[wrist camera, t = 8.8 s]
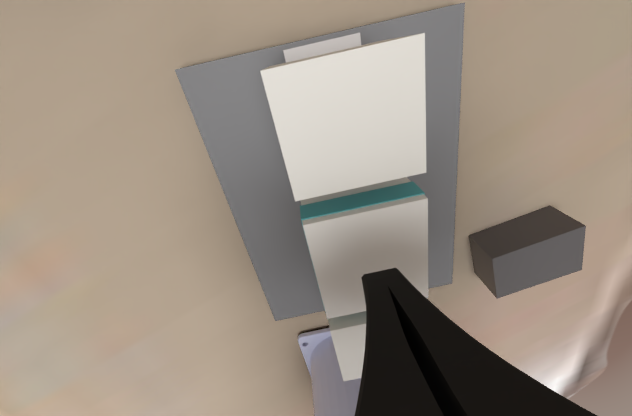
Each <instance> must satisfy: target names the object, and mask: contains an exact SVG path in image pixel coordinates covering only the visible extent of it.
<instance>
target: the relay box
mask: <svg viewBox="0 0 632 416" xmlns="http://www.w3.org/2000/svg"><path fill="white" fill-rule="evenodd" d="M585 228H586V226H585V225H583V224H582V223H580V222H578V221H576V220H575V219H573V218H571V217H569V216H568V215H566V214H564V213H562V212H560V211H559V210H557V209H555V208H553V207H552V206H547V207H545V208H542V209H539V210H537V211H534V212H531V213H528V214H526V215H523V216H520V217H518V218H515V219H512V220H509V221H507V222H504V223H501V224H499V225H496V226H493V227H490V228H488V229H485V230H482V231H480V232H477V233H474V234H471V235H469V241H470V247H471V253H472V259H473V265H474V271H475V274H476V275H477V276H478V277H479V278H480V279H481V281H482V282H483V283H484V284H485V285H486V286H487V287H488V289H489V290H490V291H491V292H492V293H493V294H494V296H495V297H496V298H500V297H503V296H506V295H509V294H512V293H515V292H518V291H521V290H524V289H526V288H529V287H532V286H535V285H538V284H541V283H544V282H547V281H550V280H553V279H556V278H559V277H562V276H565V275H568V274H571V273H574V272H577V271H580V270H582V262H583V251H584V239H585Z"/></svg>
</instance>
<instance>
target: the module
mask: <svg viewBox="0 0 632 416" xmlns="http://www.w3.org/2000/svg"><path fill="white" fill-rule="evenodd" d="M300 215H301V222H302V226H303V230H304V233H305V237H306V241H307V245H308V249H309V253H310V256H311V260H312V264H313V268H314V272H315V275H316V279H317V283H318V287H319V291H320V294H321V298H322V302H323V306H324V310H325V313H326V316H327V319H330V318H334V317H339V316H344V315H349V314H354V313H358V312H363V311H366V303H365V296H364V290H363V284H362V278H361V277H362V276H363V275H364V274H368V273H373V272H377V271H382V270H387V269H391V268H397V269H398V270H399V271H400V272H401V273H402V274H403V275H404V276H405V277H406V278H407V279H408V281H409V282H410V283H411V284H412V285H413V286H414V287H415V288H416V289H417V290H418V291H419V292H420V293H421V294H422V295H423V296H425V297H426V298H428V198H427V197H426V196H425V193H424V192H423V191H422V190H421V189H420V188H419V187H418V186H417V185H416V184H415V183H414V182H413V181H412V182H411V181H410V180H409V179H408V178H407V177H404V178H400V179H395V180H391V181H386V182H381V183H377V184H372V185H368V186H363V187H359V188H354V189H350V190H345V191H341V192H336V193H332V194H327V195H323V196H318V197H314V198H309V199H305V200H301V206H300Z"/></svg>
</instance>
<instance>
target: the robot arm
mask: <svg viewBox="0 0 632 416" xmlns="http://www.w3.org/2000/svg"><path fill="white" fill-rule="evenodd" d="M361 278H362V284H363V290H364V296H365V303H366V338H365V352H364V361H363V369H362V376H361V378H358V379H354V380H349V381H343V378H342V374H341V370H340V366H339V363H338V359H337V355H336V351H335V348H334V344H333V340H332V337H331V333H330V328H325V329H321V330H316V331H311V332H307V333H302V334H300V335H299V336H298V343H299V346H300V348H301V351H302V354H303V357H304V359H305V362H306V365H307V368H308V370H309V373H310V376H311V379H312V392H313V406H314V416H597V415H595V414H593V413H591V412H589V411H587V410H586V409H584V408H582V407H580V406H579V405H577V404H575V403H573V402H572V401H570V400H568V399H566V398H565V397H563V396H561V395H559V394H558V393H556V392H554V391H553V390H551V389H549V388H548V387H546V386H544V385H543V384H541V383H540V382H538V381H536V380H535V379H533V378H532V377H530V376H528V375H527V374H525V373H524V372H522V371H520V370H519V369H517V368H516V367H514V366H512V365H511V364H509V363H508V362H506V361H505V360H504V359H502V358H501V357H499V356H498V355H496V354H495V353H493V352H492V351H490V350H489V349H488V348H486V347H485V346H484V345H482V344H481V343H479V342H478V341H477V340H475V339H474V338H473V337H471V336H470V335H469V334H468V333H466V332H465V331H464V330H462V329H461V328H460V327H459V326H458V325H456V324H455V323H454V322H453V321H451V320H450V319H449V318H448V317H447V316H446V315H444V314H443V313H442V312H441V311H440V310H439V309H438V308H436V307H435V306H434V305H433V304H432V303H431V302H430V301H429V300H428V299H427V298H426V297H425V296H423V295H422V294H421V293H420V292H419V291H418V290H417V289H416V288H415V287H414V286H413V285H412V284H411V283H410V282H409V281H408V279H407V278H406V277H405V276H404V275H403V274H402V273H401V272H400V271H399V270H398V269H397V268H391V269H387V270H382V271H377V272H373V273H368V274H364V275H363V276H362V277H361Z"/></svg>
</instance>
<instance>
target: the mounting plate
mask: <svg viewBox="0 0 632 416" xmlns="http://www.w3.org/2000/svg"><path fill="white" fill-rule="evenodd" d="M464 7H465V3H460V4H456V5H452V6H447V7H443V8H439V9H434V10H430V11H426V12H421V13H417V14H413V15H409V16H404V17H400V18H396V19H391V20H387V21H383V22H378V23H374V24H370V25H365V26H361V27H357V28H353V29H348V30H344V31H340V32H335V33H331V34H327V35H322V36H318V37H314V38H309V39H305V40H301V41H296V42H292V43H288V44H284V45H279V46H275V47H271V48H266V49H262V50H258V51H253V52H249V53H245V54H240V55H236V56H232V57H228V58H223V59H219V60H215V61H210V62H206V63H202V64H197V65H193V66H189V67H184V68H180V69H176V70H175V72H176V74H177V77H178V79H179V82H180V84H181V86H182V89H183V91H184V94H185V96H186V99H187V101H188V104H189V106H190V109H191V111H192V114H193V116H194V119H195V121H196V124H197V126H198V129H199V131H200V134H201V136H202V139H203V141H204V144H205V146H206V149H207V151H208V154H209V156H210V159H211V161H212V164H213V166H214V169H215V171H216V174H217V176H218V179H219V181H220V184H221V186H222V189H223V191H224V194H225V196H226V199H227V201H228V204H229V206H230V209H231V211H232V214H233V216H234V219H235V221H236V224H237V226H238V229H239V231H240V234H241V236H242V239H243V241H244V244H245V246H246V249H247V251H248V254H249V256H250V259H251V261H252V264H253V266H254V269H255V271H256V274H257V276H258V279H259V281H260V284H261V286H262V289H263V291H264V294H265V296H266V299H267V301H268V304H269V306H270V309H271V311H272V314H273V316H274V319H275V321H278V320H283V319H287V318H292V317H297V316H301V315H306V314H311V313H315V312H320V311H325V310H324V306H323V302H322V298H321V294H320V291H319V287H318V283H317V279H316V275H315V272H314V268H313V264H312V260H311V256H310V253H309V249H308V245H307V241H306V237H305V233H304V230H303V226H302V222H301V215H300V206H301V200H305V199H309V198H314V197H318V196H323V195H327V194H332V193H336V192H341V191H345V190H350V189H354V188H359V187H363V186H368V185H372V184H377V183H381V182H386V181H391V180H395V179H400V178H404V177H407V178H408V179H409V180H410V181H411V182H412V181H413V182H414V183H415V184H416V185H417V186H418V187H419V188H420V189H421V190H422V191H423V192H424V193H425V196H426V197H427V198H428V288H433V287H438V286H442V285H447V284H452V274H453V252H454V230H455V208H456V185H457V163H458V141H459V118H460V96H461V74H462V51H463V29H464ZM328 321H329V328H330V333H331V337H332V340H333V344H334V348H335V351H336V355H337V359H338V363H339V366H340V370H341V374H342V378H343V381H349V380H354V379H358V378H361V376H362V369H363V361H364V352H365V338H366V311H363V312H358V313H354V314H349V315H344V316H339V317H334V318H330V319H328Z"/></svg>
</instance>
